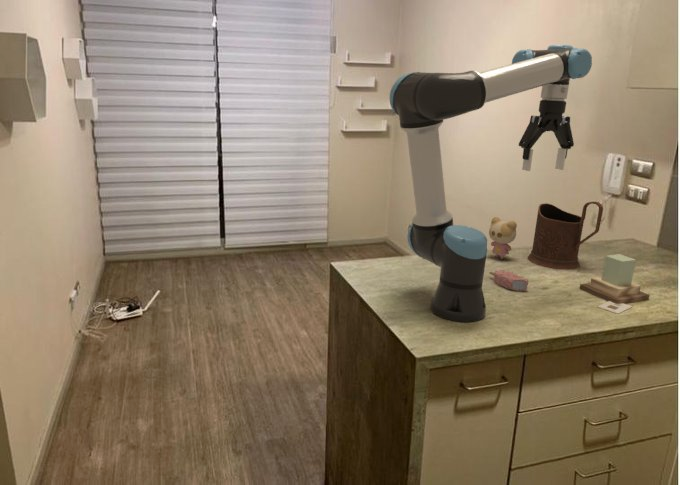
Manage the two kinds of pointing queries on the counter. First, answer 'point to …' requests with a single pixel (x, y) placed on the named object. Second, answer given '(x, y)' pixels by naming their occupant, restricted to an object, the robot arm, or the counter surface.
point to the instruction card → (614, 307)
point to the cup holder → (559, 237)
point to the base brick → (614, 291)
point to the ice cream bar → (510, 280)
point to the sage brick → (618, 270)
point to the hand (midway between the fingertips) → (542, 169)
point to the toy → (502, 236)
